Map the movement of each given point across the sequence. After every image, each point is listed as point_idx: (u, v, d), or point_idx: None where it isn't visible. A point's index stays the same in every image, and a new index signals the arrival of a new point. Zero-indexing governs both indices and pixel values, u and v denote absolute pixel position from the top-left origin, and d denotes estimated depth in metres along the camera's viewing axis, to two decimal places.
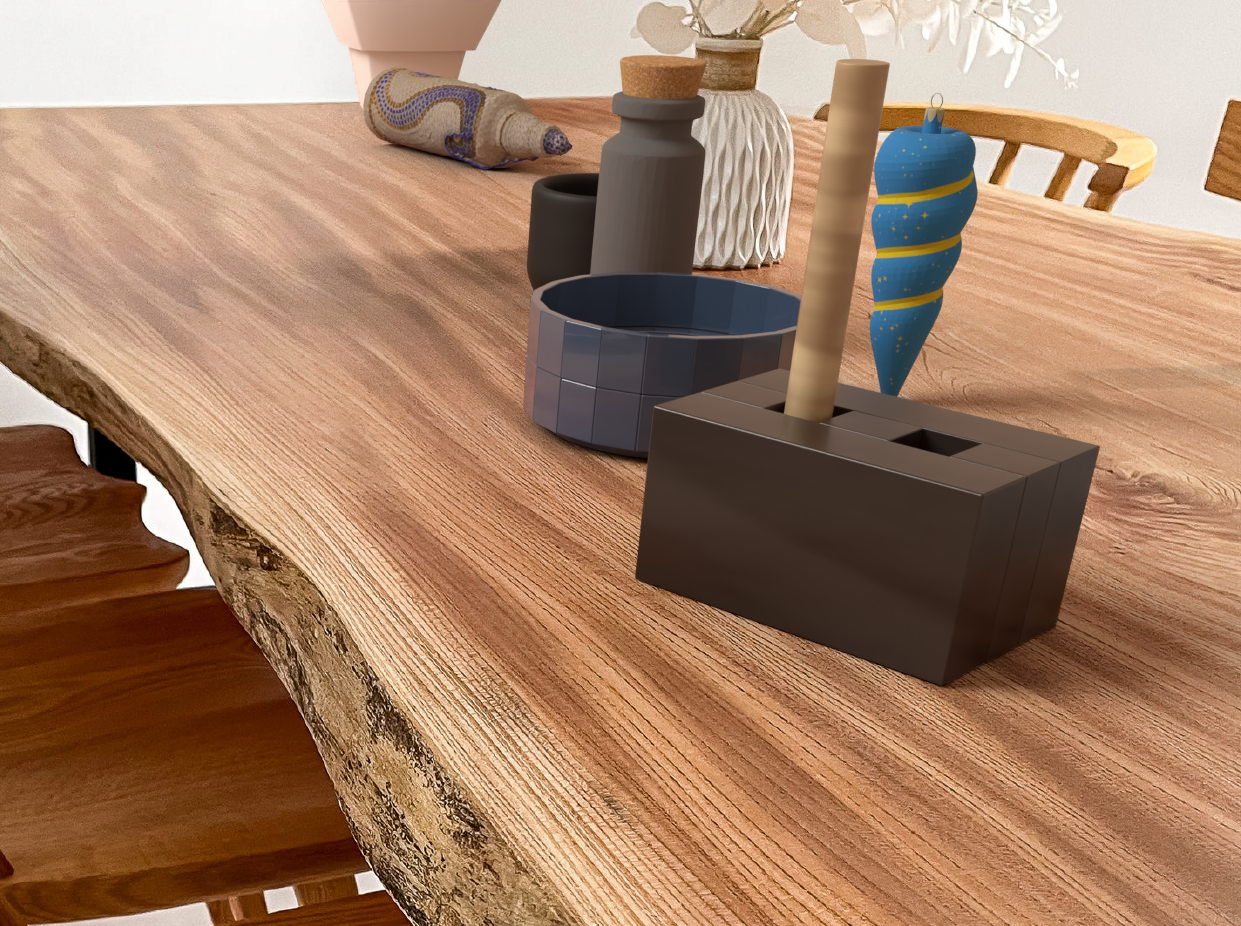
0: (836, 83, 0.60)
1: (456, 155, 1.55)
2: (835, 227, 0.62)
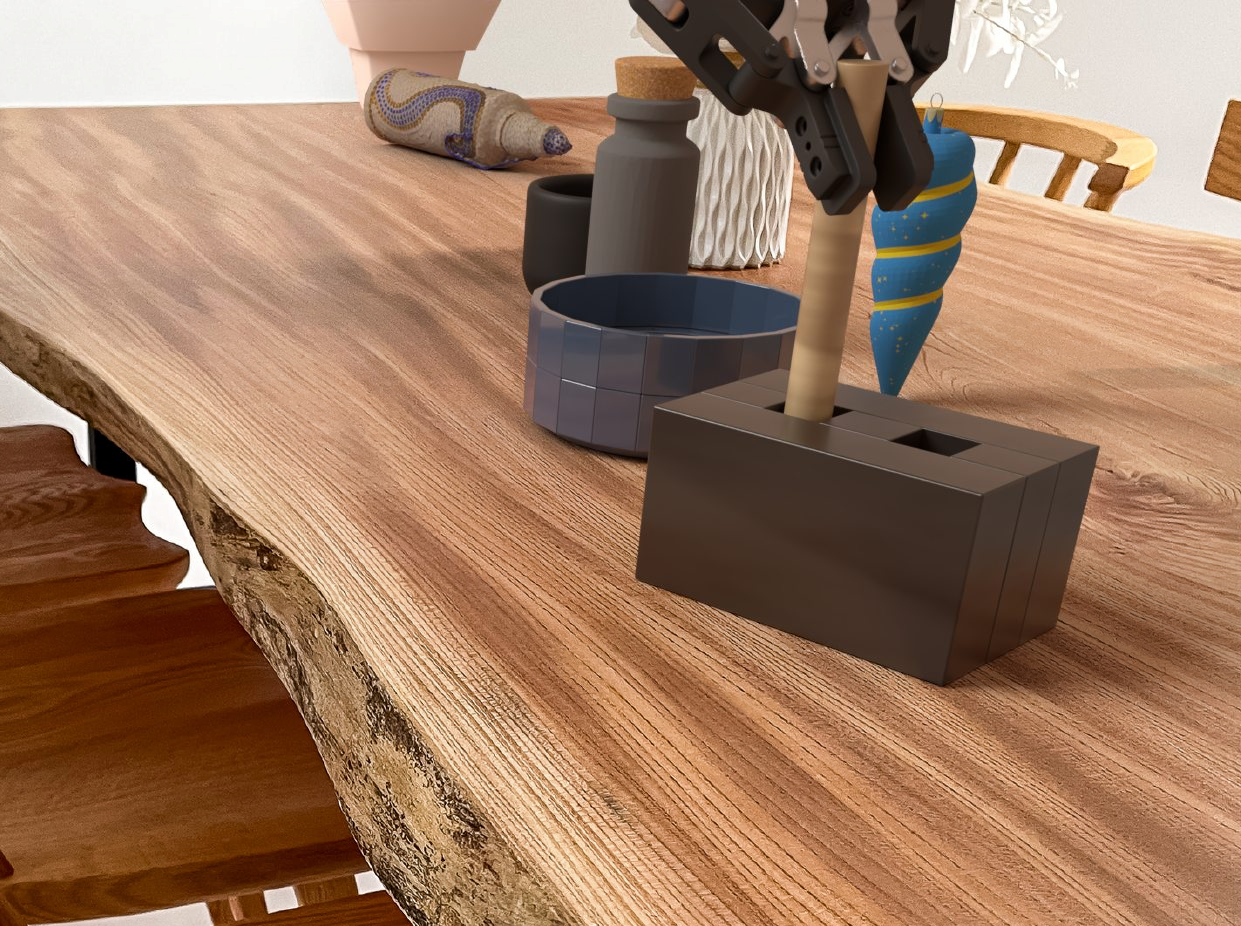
0: (836, 83, 0.60)
1: (456, 155, 1.55)
2: (835, 227, 0.62)
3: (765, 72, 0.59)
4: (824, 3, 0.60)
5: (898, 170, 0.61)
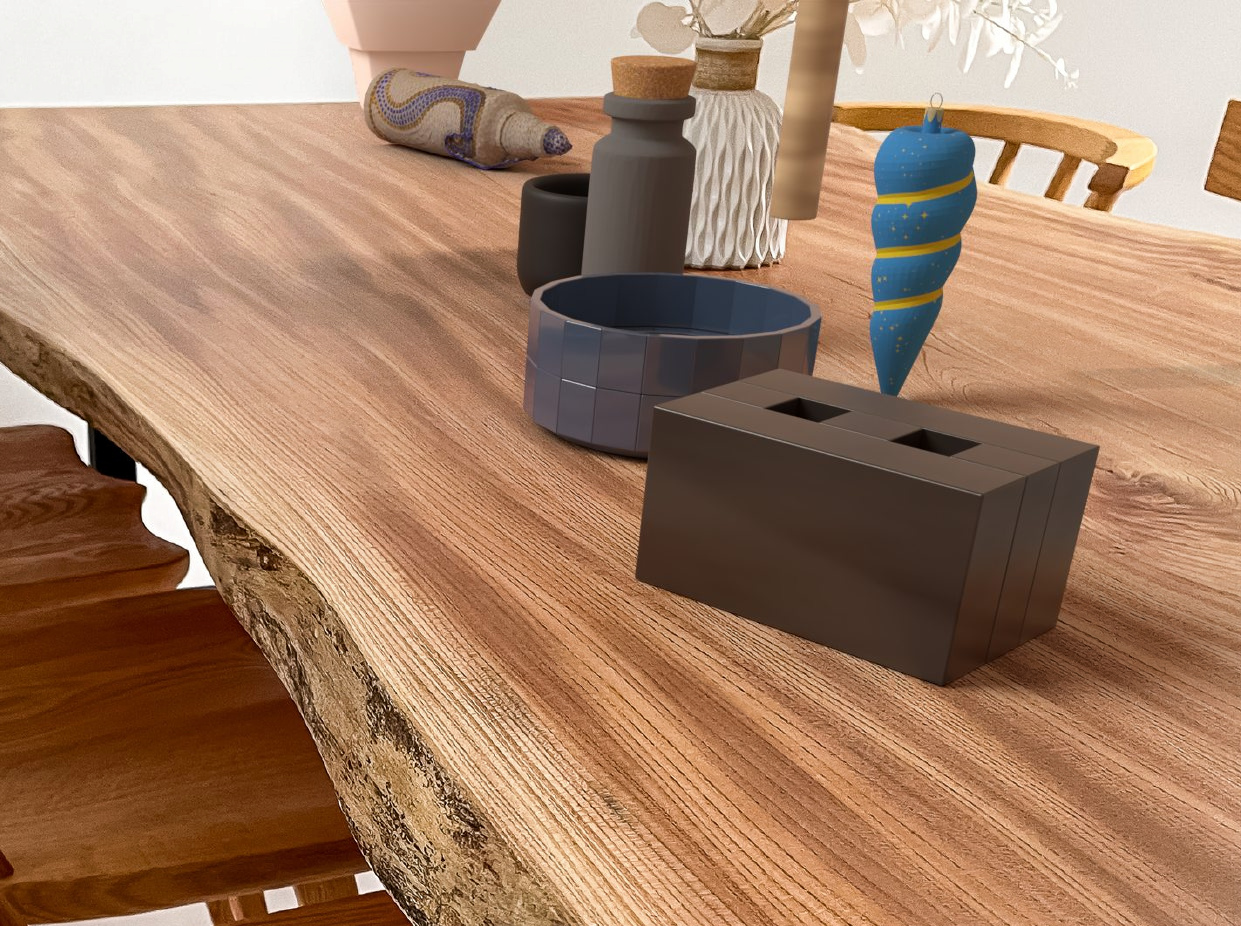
0: None
1: (456, 155, 1.55)
2: None
3: None
4: None
5: None
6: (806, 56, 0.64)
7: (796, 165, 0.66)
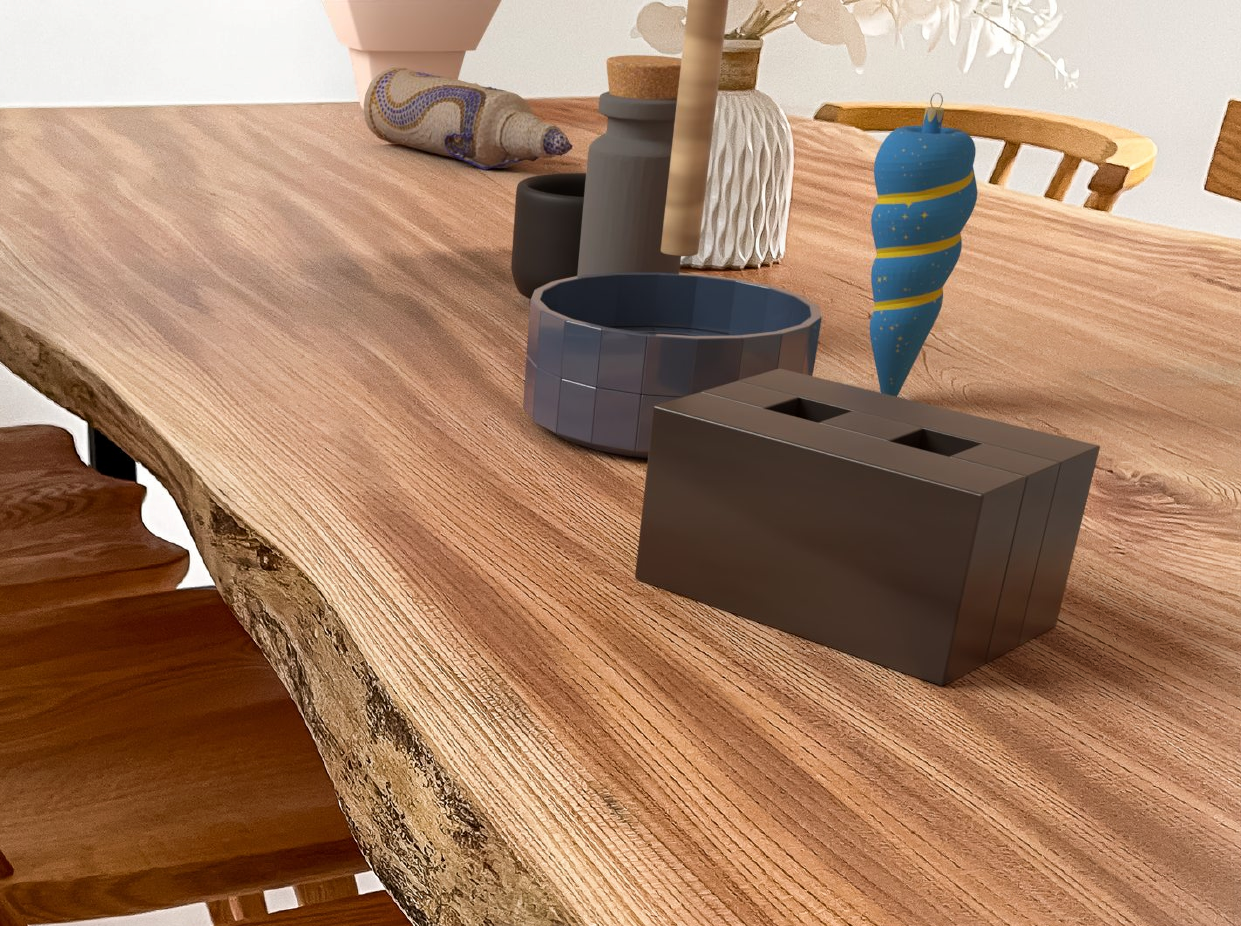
0: None
1: (456, 155, 1.55)
2: None
3: None
4: None
5: None
6: (685, 126, 0.81)
7: (679, 212, 0.83)
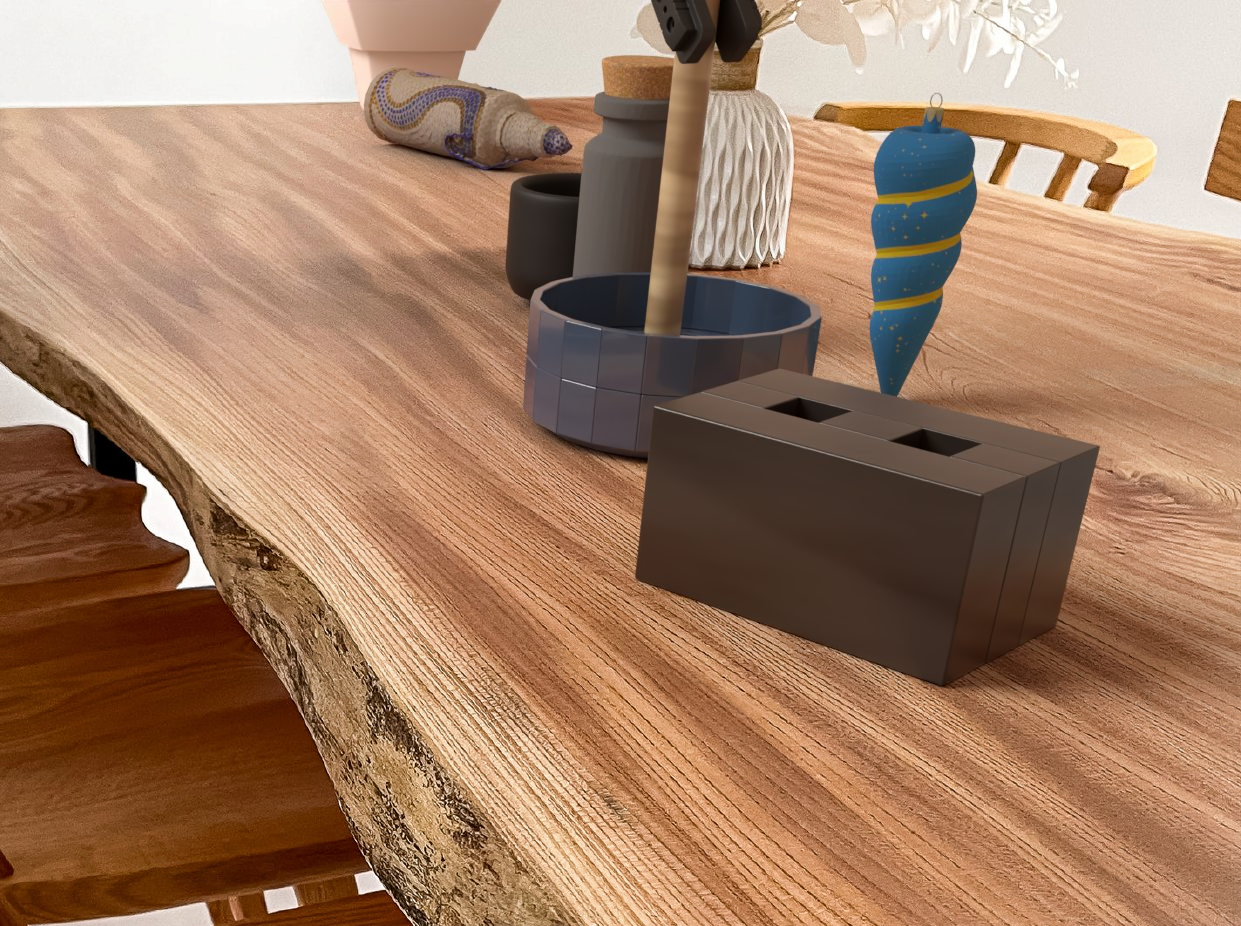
0: None
1: (456, 155, 1.55)
2: (688, 75, 0.81)
3: None
4: None
5: (734, 29, 0.80)
6: (663, 253, 0.85)
7: (658, 332, 0.87)
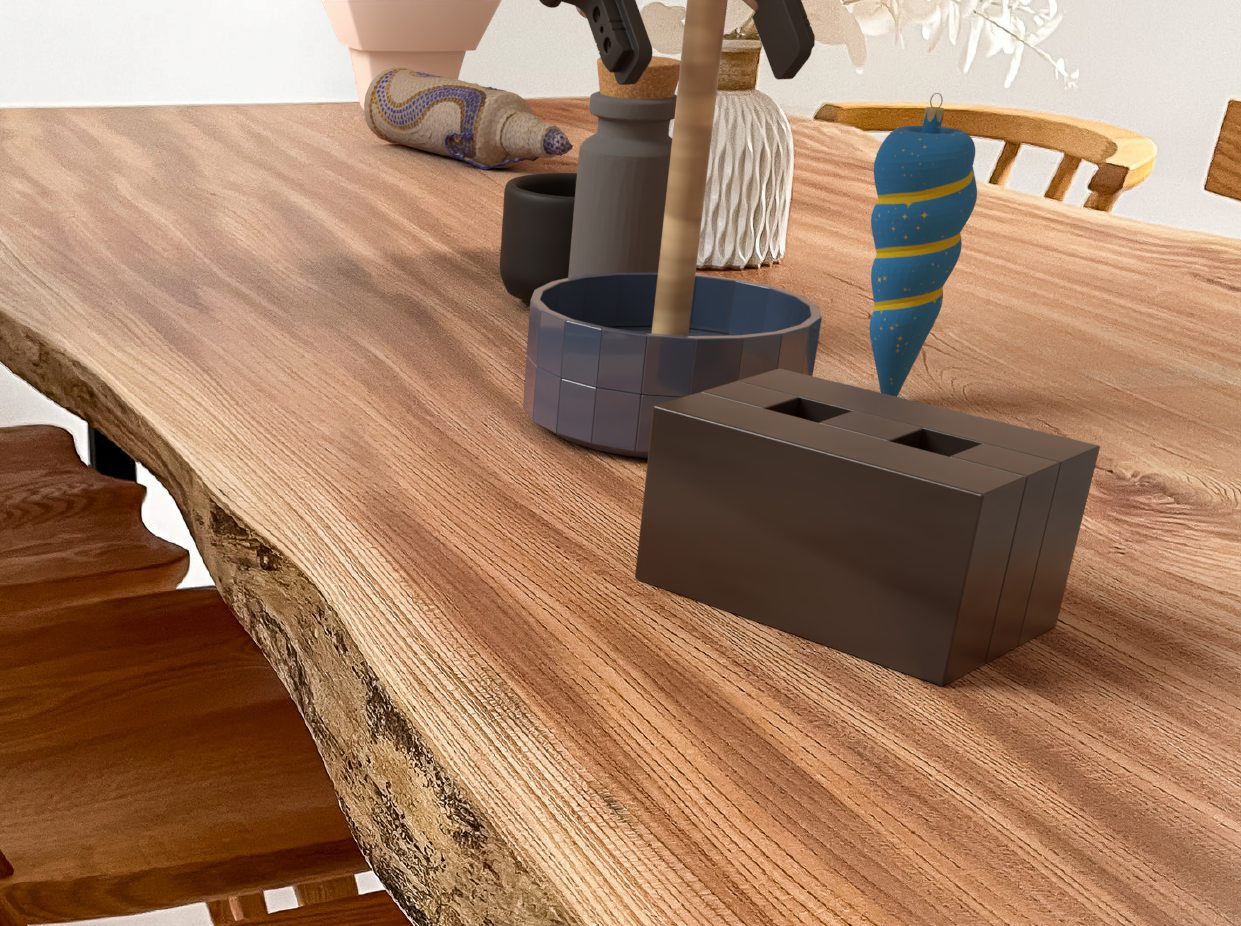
0: (688, 7, 0.79)
1: (456, 155, 1.55)
2: (690, 121, 0.81)
3: None
4: None
5: (787, 46, 0.80)
6: (665, 299, 0.85)
7: None
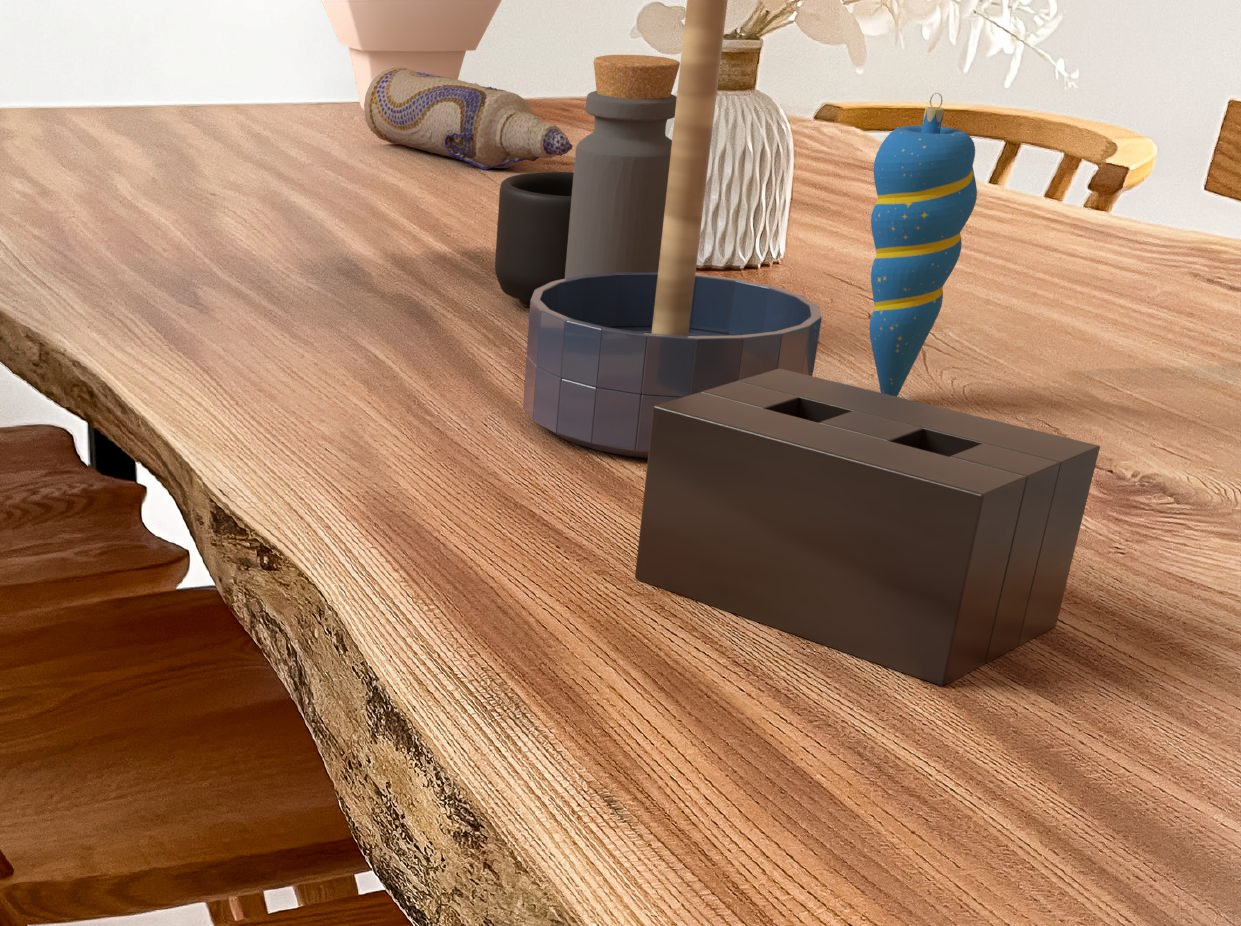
0: (688, 7, 0.79)
1: (456, 155, 1.55)
2: (690, 121, 0.81)
3: None
4: None
5: None
6: (665, 299, 0.85)
7: None
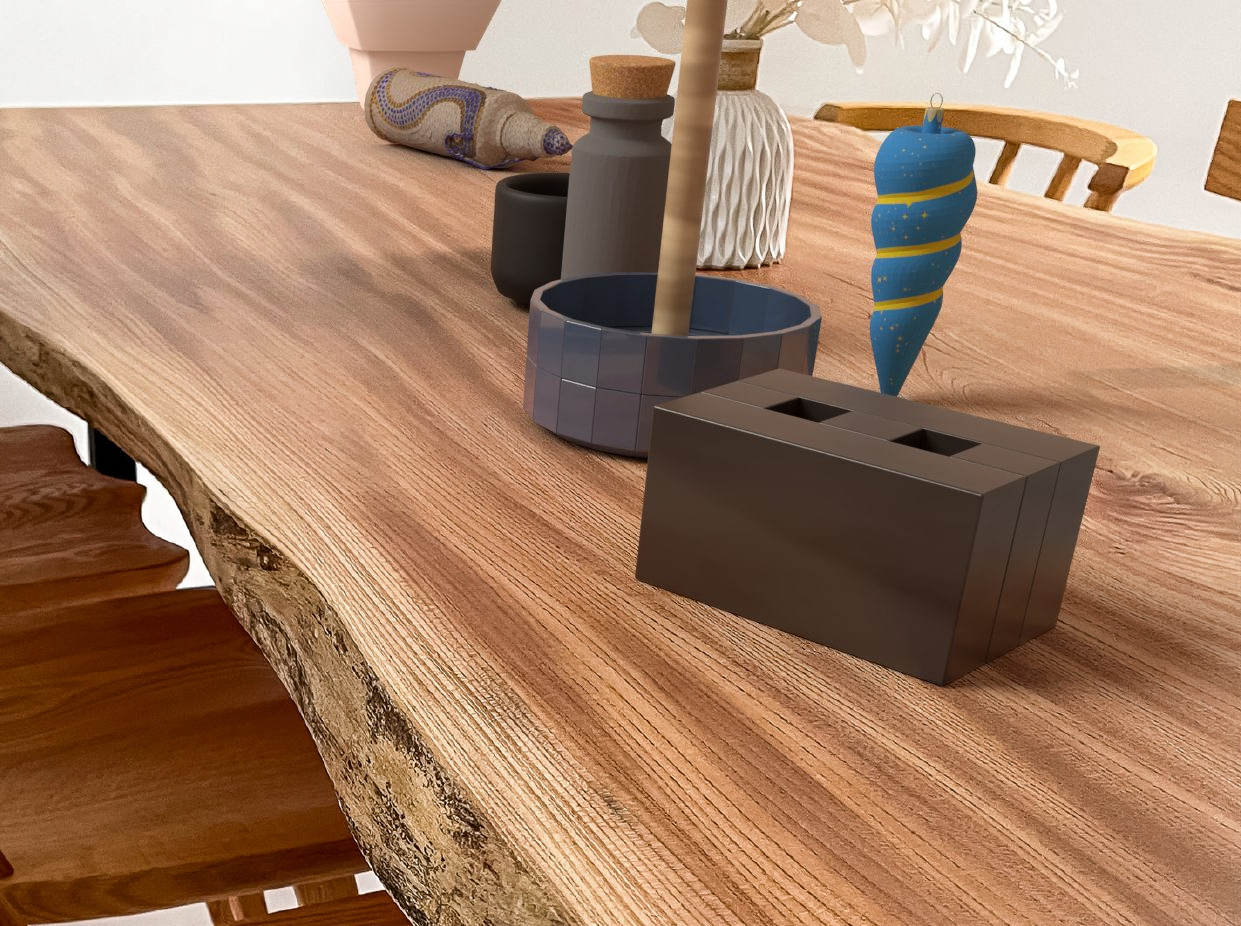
0: (688, 7, 0.79)
1: (456, 155, 1.55)
2: (690, 121, 0.81)
3: None
4: None
5: None
6: (665, 299, 0.85)
7: None
